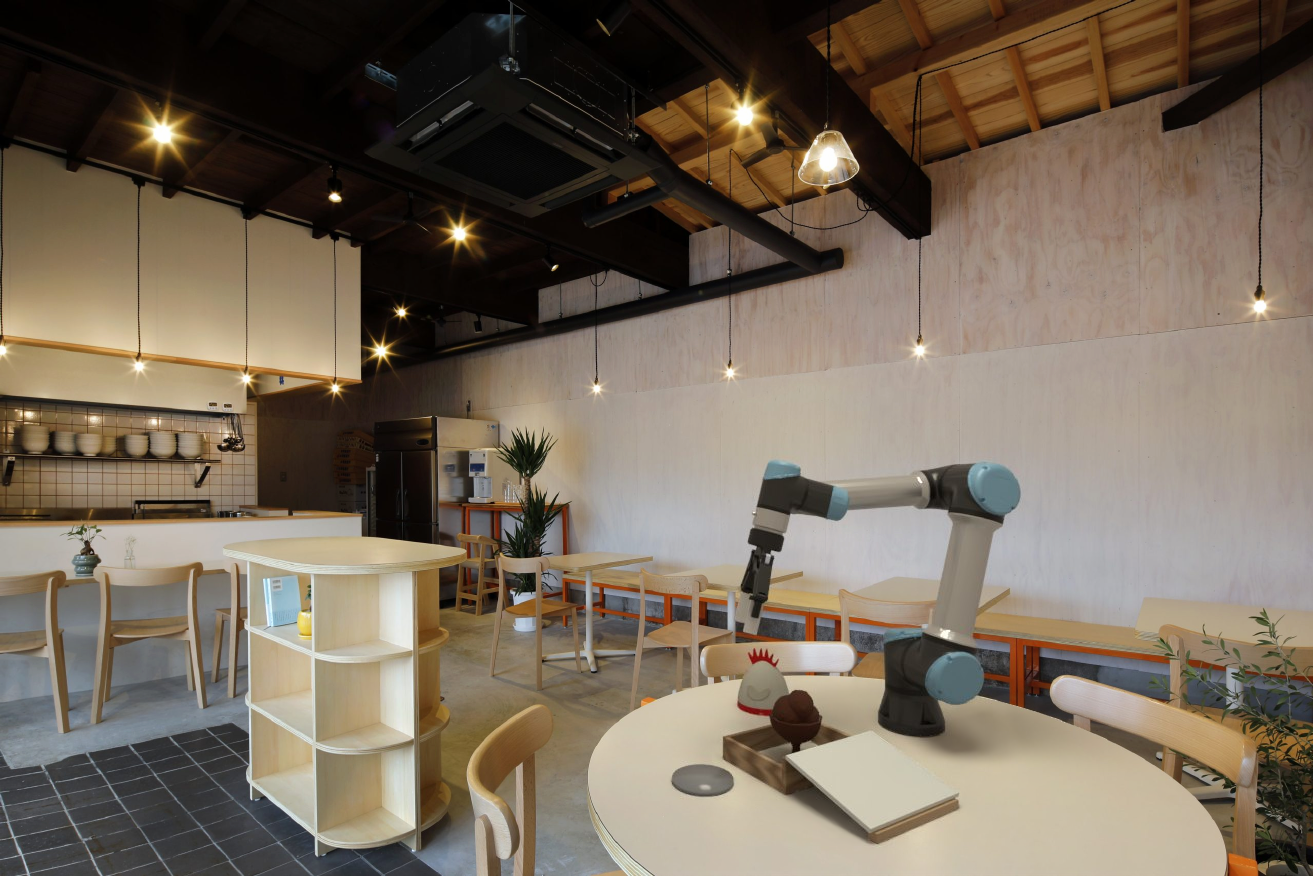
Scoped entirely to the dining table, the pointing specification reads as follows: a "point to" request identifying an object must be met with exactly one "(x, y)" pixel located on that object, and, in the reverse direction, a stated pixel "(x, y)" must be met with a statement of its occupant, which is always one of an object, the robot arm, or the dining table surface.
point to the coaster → (702, 780)
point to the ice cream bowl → (796, 718)
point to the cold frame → (780, 777)
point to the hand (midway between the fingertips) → (744, 627)
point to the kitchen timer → (761, 685)
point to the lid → (876, 784)
